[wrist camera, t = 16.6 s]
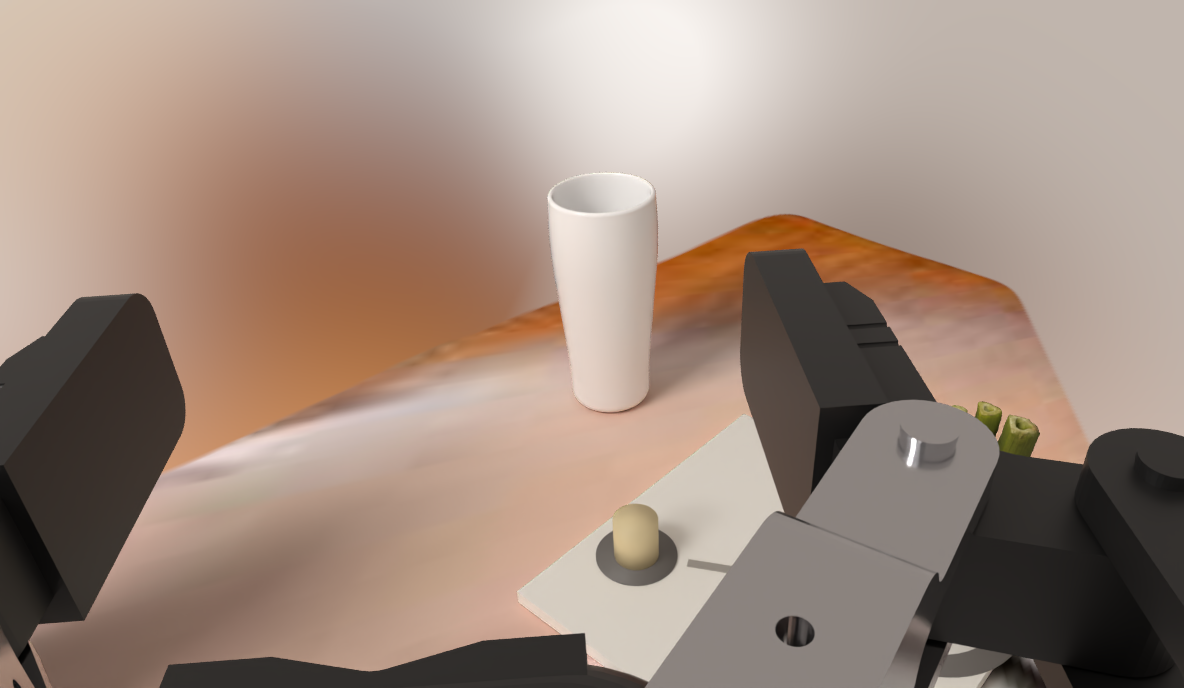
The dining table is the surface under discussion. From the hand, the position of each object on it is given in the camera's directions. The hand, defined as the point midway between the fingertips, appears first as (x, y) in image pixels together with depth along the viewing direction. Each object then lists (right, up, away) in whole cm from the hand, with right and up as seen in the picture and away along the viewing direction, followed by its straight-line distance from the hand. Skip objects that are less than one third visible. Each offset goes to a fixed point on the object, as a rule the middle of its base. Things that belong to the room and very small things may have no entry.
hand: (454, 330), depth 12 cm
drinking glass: (+3, -4, +51) cm, 51 cm away
